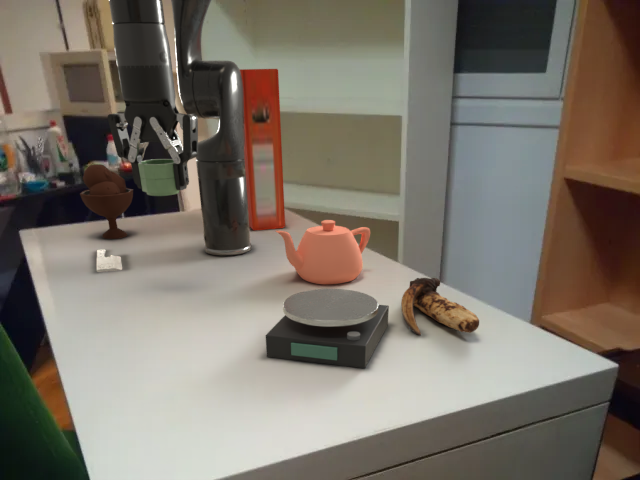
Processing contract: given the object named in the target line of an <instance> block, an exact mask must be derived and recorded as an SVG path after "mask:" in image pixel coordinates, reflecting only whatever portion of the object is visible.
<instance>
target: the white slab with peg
mask: <svg viewBox="0 0 640 480" xmlns="http://www.w3.org/2000/svg"><path fill="white" fill-rule="evenodd" d="M105 254H106V249H105V248H103V249H97V250H96V260H95V261H96V262H95V266H96V273H106V272H114V271H115V272H116V271H117V272H118V271H123V266H122V257H121V256H118V255H113V254H110V255H109V256H105Z"/></svg>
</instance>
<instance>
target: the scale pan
mask: <svg viewBox="0 0 640 480" xmlns="http://www.w3.org/2000/svg"><path fill="white" fill-rule="evenodd" d="M378 305H379V302H378V300H377V299H376V298H375V297H373V296H371V295H370V294H368V293H364V292H361V291H357V290H352V289H344V288H319V289H318V288H317V289H310V290H306V291H302V292H297V293H295V294H292V295H290V296H289V297H287V298H286V299H285V300H284V302H283V303H282V312H283V314H284V316H285V315H286V316H287V317H288V318H290V319H291V320H293V321H296V322H299V323H302V324H307V325H312V326H322V327H339V326H349V325H355V324H359V323H362V322H365V321H368V320H370V319H372V318H373V317H374V316H376V314H377V313H378Z"/></svg>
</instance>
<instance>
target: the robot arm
mask: <svg viewBox="0 0 640 480" xmlns="http://www.w3.org/2000/svg"><path fill="white" fill-rule="evenodd" d="M163 3H164V2H163V0H108V4H109V5H108V6H109V10H110V17H111V22H112V23H111V24H112V31H113V46H114V47H113V48H114V53H115V54H114V55H115V60H116V66H117V73H118V78H119V84H120V91H121V97H122V100H123V101H124V103H125V104H124V105H125V108H124V112H122V113H121V112H115V113H114V112H113V113H109V114H108V115H107V121H108V125H109V130H110V132H111V136H112V140H113V144H114V148H115V151H116V155H117V156H118V158H121V159H122V158H123V159H126V160H128V161H129V162H130V166H131V171H132V178H133V183H134V185H136V186H137V188H138V189H141V190H142V185H141V179H140V173H139V166H138V162H141V161H143V159H144V156H145V152H146V149H147V147H149V144H150V142H154V143H160V144H162V146H163V148H164V149H165V150H166V151H167V152H168V153H169V155H170V158H171V159H173V161H174V163H175V164H173V168H174V176H175V183H176V189H177V190H179V191H183V190H187V188H188V186H189V183H190V178H189V168H188V162H189V161H190V160H193V159H195V163H196V171H197V172H196V173H197V181H198V191H199V199H200V209H201V220H202V228H203V240H204V252H206V253H207V254H210V255H213V256H237V255H242V254H246V253H248V252H250V251H251V250H252V242H251V231H250V226H249V214H248V199H247V184H246V171H245V159H244V158H245V156H244V145H245V128H244V89H243V81H242V76H241V73H240V70H239V69H240V68H239V67H238V65H237V64H236V63H235V62H234V61H232V60H203V54H202V53H203V52H202V34H203V28H204V23H205V19H206V16H207V13H208V10H209V8H210V5H211V3H212V0H170V3H171V11H172V20H173V30H174V44H175V59H176V61H175V62H176V75H177V76H176V77H177V85H178V93H179V98H180V102H181V106H182V108H183V110H184V112H185V113H181V112H179V110H178V108H177V106H176V88H175V81H174V71H173V64H172V57H171V46H170V40H169V37H168V31H167V28H166V21H165V13H164V4H163ZM199 120H218V129H217V131H216V132H215V133H214V134H213V135H211V136H210V137H208V138H205V139H203V140H200V141H199ZM178 124H179V128H180V129H181V130H182V140H181V137H180V136H179V134H178V132H177V130H176V128H177V126H178ZM128 125H129V127H130V128H131V129H132V130H131V131H132V132H131V135H130V136H129V133H128Z"/></svg>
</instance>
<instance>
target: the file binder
mask: <svg viewBox="0 0 640 480" xmlns="http://www.w3.org/2000/svg"><path fill="white" fill-rule="evenodd" d="M239 70H240V73H241V76H242V81H243V89H244V128H245V145H244V156H245V158H244V159H245V171H246V184H247V199H248V214H249V228H250V229H251V230H252V231H263V230H275V229H284V228H286V213H285V211H286V210H285V191H284V190H285V189H284V172H283V171H284V170H283V149H282V126H281V125H282V124H281V107H280V106H281V101H280V82H279V80H280V79H279V69H278V68H247V69H246V68H245V69H244V68H243V69H240V68H239Z"/></svg>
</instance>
